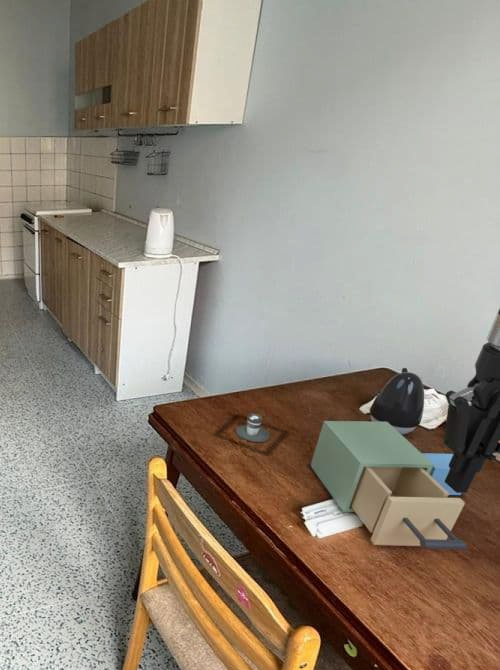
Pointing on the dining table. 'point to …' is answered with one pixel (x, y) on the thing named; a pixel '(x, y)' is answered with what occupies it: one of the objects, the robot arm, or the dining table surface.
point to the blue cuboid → (441, 469)
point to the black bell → (400, 402)
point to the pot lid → (253, 429)
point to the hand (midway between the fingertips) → (455, 487)
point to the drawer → (406, 508)
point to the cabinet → (360, 455)
